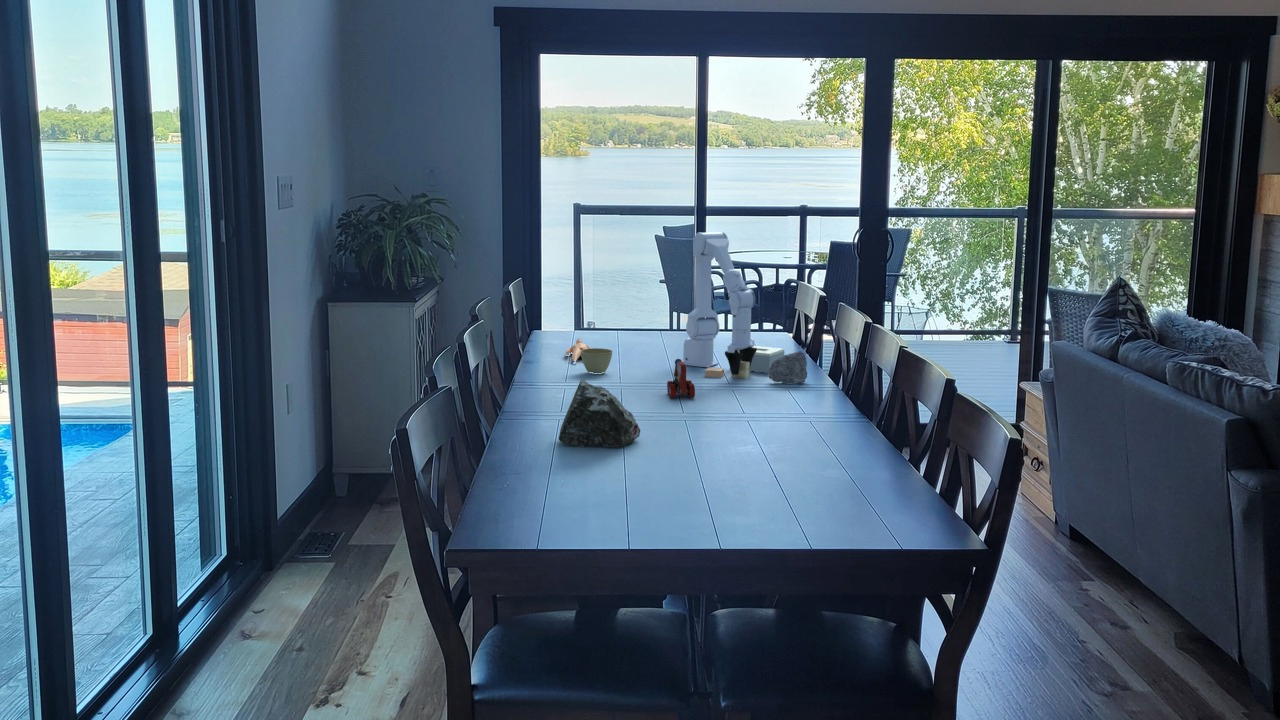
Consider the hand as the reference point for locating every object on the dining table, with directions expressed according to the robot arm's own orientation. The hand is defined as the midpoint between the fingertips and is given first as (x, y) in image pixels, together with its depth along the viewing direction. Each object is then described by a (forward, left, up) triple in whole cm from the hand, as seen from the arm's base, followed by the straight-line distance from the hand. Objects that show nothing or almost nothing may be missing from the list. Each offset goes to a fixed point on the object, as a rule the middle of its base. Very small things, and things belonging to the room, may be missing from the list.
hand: (740, 372), depth 337 cm
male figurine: (-61, +1, -2) cm, 61 cm away
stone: (+7, -92, -2) cm, 92 cm away
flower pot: (-41, -19, -2) cm, 45 cm away
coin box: (-2, +16, -2) cm, 16 cm away
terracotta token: (-8, -2, -2) cm, 8 cm away
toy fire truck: (-2, -34, -2) cm, 34 cm away
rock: (+16, 0, -2) cm, 16 cm away
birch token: (0, 0, -2) cm, 2 cm away
